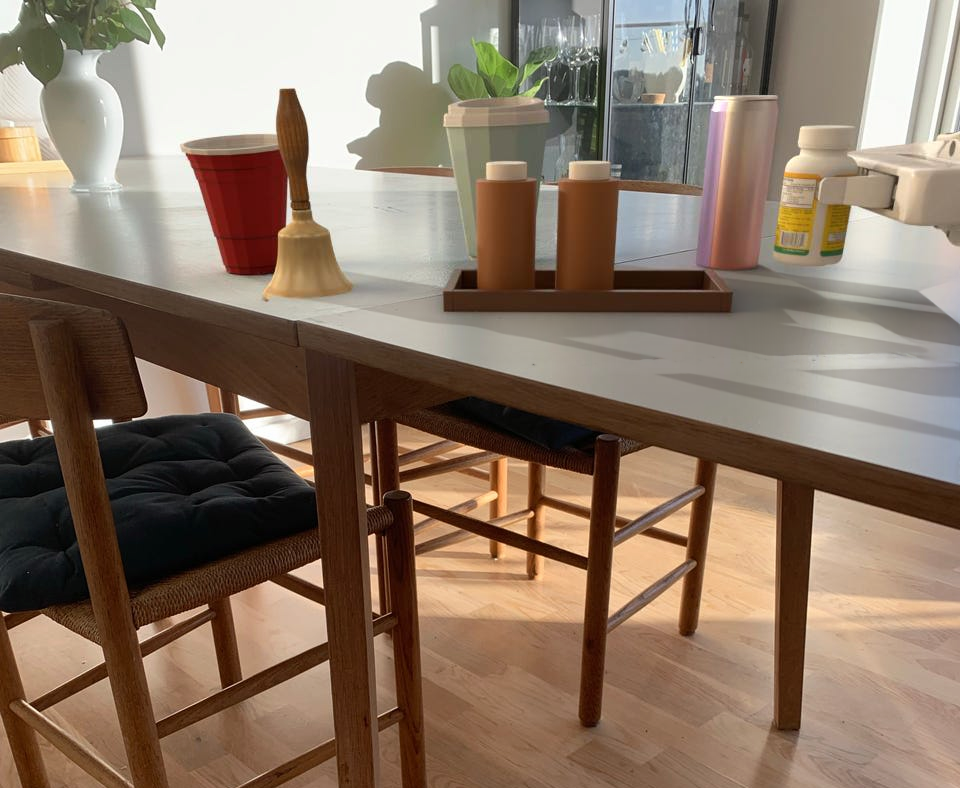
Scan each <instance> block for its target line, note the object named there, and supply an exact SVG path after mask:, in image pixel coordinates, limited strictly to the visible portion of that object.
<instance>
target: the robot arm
mask: <svg viewBox="0 0 960 788" xmlns="http://www.w3.org/2000/svg"><path fill="white" fill-rule="evenodd" d="M847 156H850V157H852V158H853V159H854V160H855V161H856V163H857V166H858V170H857V176H853V177H842V176H835V177H821V178H820V179H819V180H818V181H817V185H816V192H815V199H816V201H818V202H819V203H821V204H824V205H837V204H843V205H851V207H858V208H860V209H863V210H866V211H869V212H871V213H874V214H877V215H879V216H882V217H884V218H888V219H891V220H893V221H895V222H898V223H901V224H903V225H907V226H913V227H914V226H915V227H933V228H934V229H935V230H941V232H943V233H944V234H945V236H946V238H947V240H948V242H949V243H950V244H951V245H953V246H954V247H960V130H958V131H955V132H946V133H940V134H938V135H937V136H936V139H935V140H933V141H924V142H913V143H905V144H904V143H903V144H895V145H887V146H877V147H871V148H862V149H857V150H851V151H848V153H847Z"/></svg>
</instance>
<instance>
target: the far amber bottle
mask: <svg viewBox="0 0 960 788" xmlns="http://www.w3.org/2000/svg"><path fill="white" fill-rule="evenodd" d="M476 194H477V261H476V269H477V290H535V269H536V247H537V246H536V245H537V244H536V243H537V215H536V198H537V179H534V178H527V163H526V162H519V161H497V162H488V163H487V164H486V178H481V179H477V180H476Z"/></svg>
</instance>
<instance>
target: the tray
mask: <svg viewBox="0 0 960 788" xmlns="http://www.w3.org/2000/svg"><path fill="white" fill-rule="evenodd" d="M555 277H556V268H535V290H477V268H453V270H452V272H451V274H450V276H449V279H448V281H447V282H446V285H445V287H444V288H443V291H442V306H443V312H444V313H473V312H474V313H658V314H659V313H661V314H662V313H664V314H665V313H669V314H670V313H673V314H674V313H682V314H684V313H685V314H686V313H690V314H691V313H692V314H693V313H695V314H696V313H698V314H699V313H702V314H704V313H705V314H706V313H707V314H708V313H709V314H712V313H713V314H723V313H724V314H731V311H732V305H733V297H734V291H733V290H732V289H731V288H730V287H729V286H728V285H727V284H726V282H724V280H723V279H722V278H721V277H720V275H718V274H717V273H716V272H715V270H712V269H705V268H614V280H613V290H555Z"/></svg>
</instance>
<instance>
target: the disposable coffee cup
mask: <svg viewBox="0 0 960 788" xmlns="http://www.w3.org/2000/svg"><path fill="white" fill-rule="evenodd" d="M447 110H448V111H447V112H446V113H444V115H443V125H442V126H443V127H445V129H446V136H447V142H448V147H449V148H448V149H449V153H450V159H451V164H452V165H451V166H452V171H453V175H454V176H453V177H454V182H455V183H454V184H455V187H456V193H457V201H458V205H459V211H460V218H461V224H462V229H463V236H464V239H465V240H464V241H465V245H466V252H467V255H468V256H469V259H470V261H471V262H477V194H476V180H477V179H481V178H486V164H487V163H488V162H497V161H519V162H526V163H527V178H534V179H537V198H536V216H537V214H538V205H539V199H540V189H541V181H542V174H543V167H544V158H545V149H546V142H547V134H548V126H549V123H551V120H550V111H549V110H548V109H545V101H543V100H542V99H541V98H540V97H532V96H530V97H529V96H503V97H502V96H499V97H479V98H473V99H466V100H459V101H457V102H453V103H450V104H448V105H447Z"/></svg>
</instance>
